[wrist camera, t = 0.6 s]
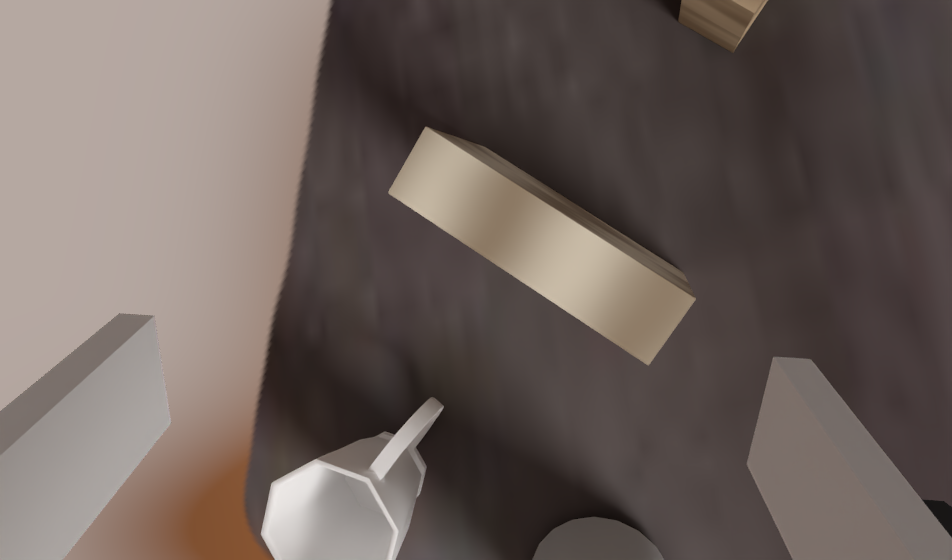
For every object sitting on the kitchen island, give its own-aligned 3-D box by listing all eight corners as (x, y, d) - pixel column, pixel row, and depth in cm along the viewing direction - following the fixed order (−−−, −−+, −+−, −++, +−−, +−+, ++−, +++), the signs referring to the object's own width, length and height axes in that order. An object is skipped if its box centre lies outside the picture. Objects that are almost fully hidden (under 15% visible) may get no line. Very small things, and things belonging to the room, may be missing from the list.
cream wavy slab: (683, 272, 34) (695, 298, 25) (648, 320, 35) (648, 365, 25) (485, 147, 36) (425, 126, 26) (456, 195, 37) (388, 193, 27)
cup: (312, 472, 41) (233, 535, 33) (407, 344, 38) (345, 379, 31) (403, 551, 40) (343, 635, 32) (505, 425, 37) (467, 483, 30)
